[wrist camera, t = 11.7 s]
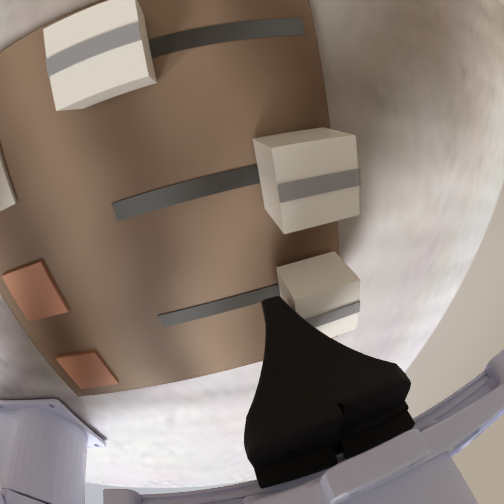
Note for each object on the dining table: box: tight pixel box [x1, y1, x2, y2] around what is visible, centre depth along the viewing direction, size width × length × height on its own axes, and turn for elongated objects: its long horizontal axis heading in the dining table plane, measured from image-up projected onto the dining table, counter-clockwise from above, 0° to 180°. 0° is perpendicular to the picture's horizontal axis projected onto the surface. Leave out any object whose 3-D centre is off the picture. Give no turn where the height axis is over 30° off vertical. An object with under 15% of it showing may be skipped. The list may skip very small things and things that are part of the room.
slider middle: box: [253, 127, 360, 234], centre depth 11 cm, size 3×3×3 cm
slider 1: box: [43, 0, 157, 111], centre depth 7 cm, size 3×3×3 cm
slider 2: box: [276, 251, 360, 338], centre depth 14 cm, size 3×3×3 cm
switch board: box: [0, 0, 339, 396], centre depth 12 cm, size 18×20×1 cm
